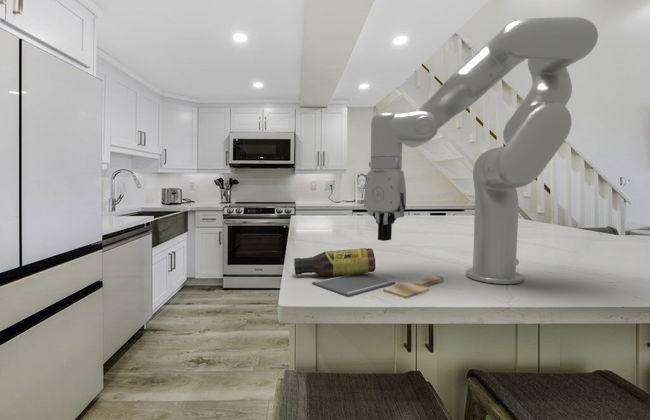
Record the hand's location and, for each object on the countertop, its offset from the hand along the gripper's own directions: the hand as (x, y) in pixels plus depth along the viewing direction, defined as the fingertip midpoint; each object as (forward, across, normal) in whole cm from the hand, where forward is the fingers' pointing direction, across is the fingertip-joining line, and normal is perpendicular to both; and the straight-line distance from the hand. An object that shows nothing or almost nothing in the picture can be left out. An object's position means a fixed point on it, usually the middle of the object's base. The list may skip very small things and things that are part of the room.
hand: (384, 239), depth 86 cm
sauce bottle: (+5, -2, -1) cm, 6 cm away
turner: (+9, +11, -2) cm, 15 cm away
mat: (+9, 0, -11) cm, 14 cm away
